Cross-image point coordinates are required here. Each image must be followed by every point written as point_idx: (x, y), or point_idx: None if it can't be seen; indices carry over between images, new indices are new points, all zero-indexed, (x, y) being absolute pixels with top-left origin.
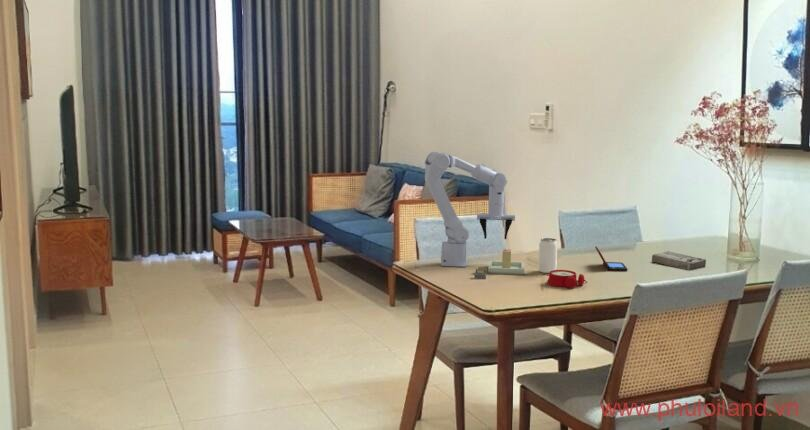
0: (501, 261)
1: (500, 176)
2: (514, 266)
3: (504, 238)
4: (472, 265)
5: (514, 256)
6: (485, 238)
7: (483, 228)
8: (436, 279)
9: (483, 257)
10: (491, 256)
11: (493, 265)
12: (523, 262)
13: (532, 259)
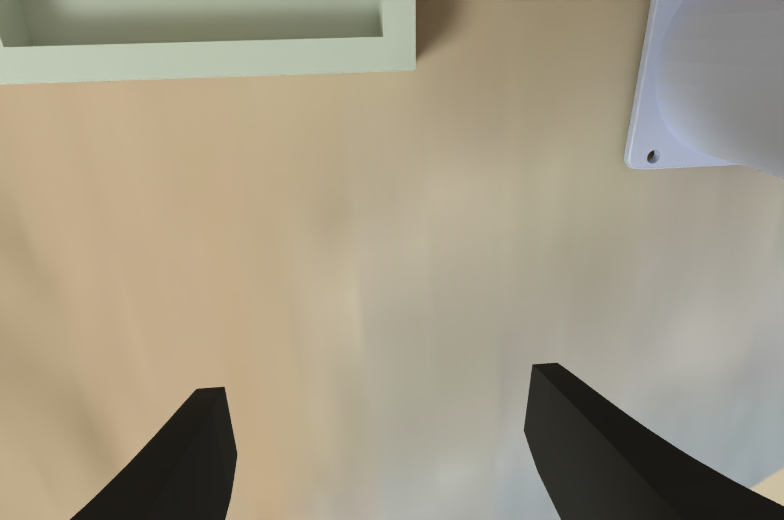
0: (268, 58)
1: None
2: (111, 21)
3: (220, 391)
4: (581, 60)
5: None
6: (544, 365)
7: (701, 480)
8: None
9: (469, 408)
10: (408, 453)
11: (361, 29)
12: None
13: (54, 436)
